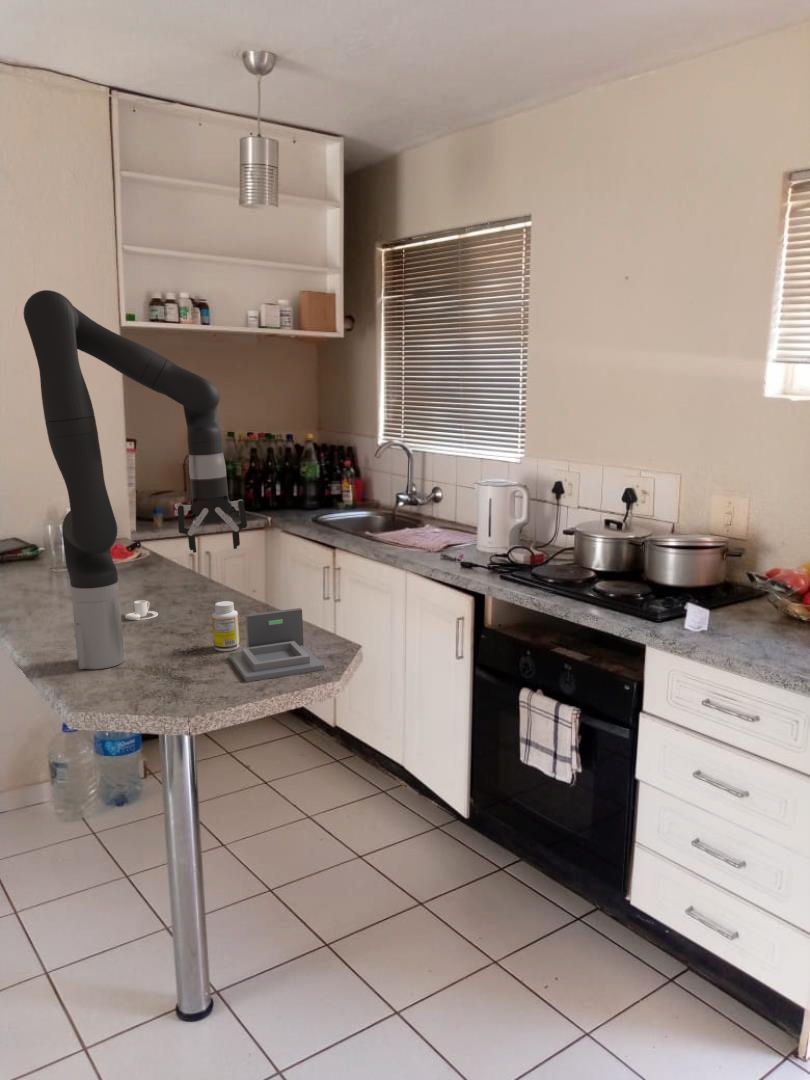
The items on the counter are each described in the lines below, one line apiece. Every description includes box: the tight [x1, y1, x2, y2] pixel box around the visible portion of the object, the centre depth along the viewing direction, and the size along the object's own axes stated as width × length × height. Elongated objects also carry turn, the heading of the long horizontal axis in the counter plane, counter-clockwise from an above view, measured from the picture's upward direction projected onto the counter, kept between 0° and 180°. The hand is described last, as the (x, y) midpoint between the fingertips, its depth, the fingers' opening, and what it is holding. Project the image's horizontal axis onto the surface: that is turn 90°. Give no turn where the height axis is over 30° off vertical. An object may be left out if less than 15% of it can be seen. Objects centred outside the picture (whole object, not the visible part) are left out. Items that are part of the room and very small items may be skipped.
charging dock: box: [228, 607, 325, 683], centre depth 174 cm, size 16×16×9 cm
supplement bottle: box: [211, 600, 241, 652], centre depth 184 cm, size 6×6×10 cm
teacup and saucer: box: [124, 599, 159, 621], centre depth 212 cm, size 9×8×4 cm
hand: (215, 550), depth 181 cm, fingers open, 8 cm apart
